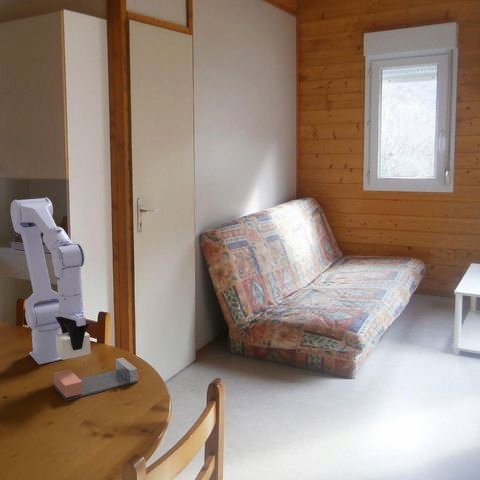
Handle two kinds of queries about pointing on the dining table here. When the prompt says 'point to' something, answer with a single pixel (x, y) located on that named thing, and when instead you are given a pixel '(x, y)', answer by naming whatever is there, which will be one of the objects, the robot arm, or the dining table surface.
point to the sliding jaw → (68, 383)
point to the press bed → (107, 379)
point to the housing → (66, 348)
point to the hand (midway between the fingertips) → (73, 345)
